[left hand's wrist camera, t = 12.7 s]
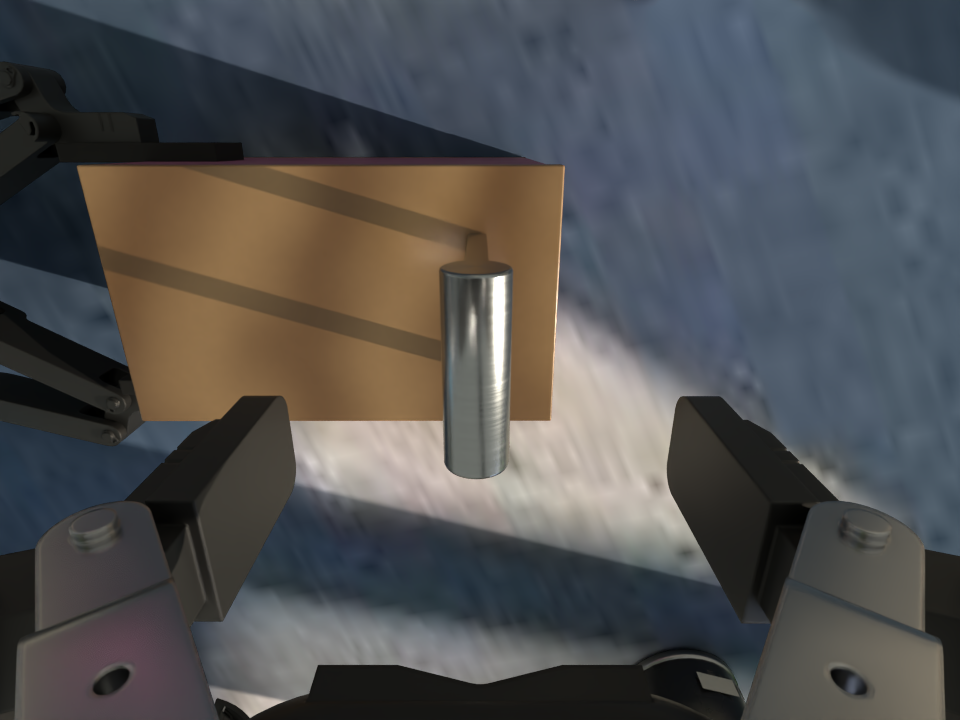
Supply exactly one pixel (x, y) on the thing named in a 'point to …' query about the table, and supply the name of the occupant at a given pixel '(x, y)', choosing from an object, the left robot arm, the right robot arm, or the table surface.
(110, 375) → the right robot arm
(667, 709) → the left robot arm
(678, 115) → the table surface
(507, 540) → the table surface
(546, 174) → the lid
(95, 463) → the table surface
